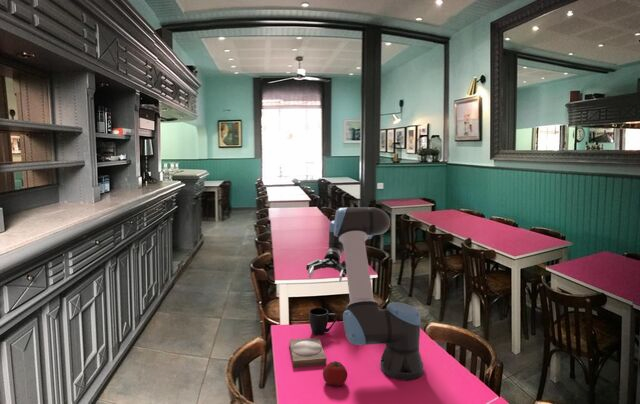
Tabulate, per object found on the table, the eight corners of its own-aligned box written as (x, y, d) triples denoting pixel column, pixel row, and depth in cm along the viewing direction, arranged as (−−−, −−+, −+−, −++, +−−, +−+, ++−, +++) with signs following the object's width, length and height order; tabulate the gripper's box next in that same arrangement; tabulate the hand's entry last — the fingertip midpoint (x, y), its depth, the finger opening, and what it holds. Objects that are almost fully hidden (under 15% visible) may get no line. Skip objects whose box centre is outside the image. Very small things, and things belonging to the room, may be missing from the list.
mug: (335, 338, 162) (335, 316, 160) (307, 335, 164) (307, 314, 163) (338, 329, 170) (338, 309, 168) (311, 327, 172) (311, 306, 171)
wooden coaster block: (326, 364, 142) (326, 357, 142) (293, 367, 140) (293, 360, 140) (319, 343, 158) (319, 336, 157) (289, 345, 156) (289, 338, 155)
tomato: (335, 373, 137) (335, 354, 136) (351, 383, 131) (352, 363, 130) (318, 382, 131) (318, 362, 130) (334, 393, 125) (335, 372, 124)
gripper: (357, 267, 189) (352, 287, 169) (307, 262, 194) (297, 281, 174) (358, 253, 187) (353, 272, 167) (308, 248, 192) (297, 266, 172)
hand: (324, 277), depth 170 cm, fingers open, 13 cm apart
